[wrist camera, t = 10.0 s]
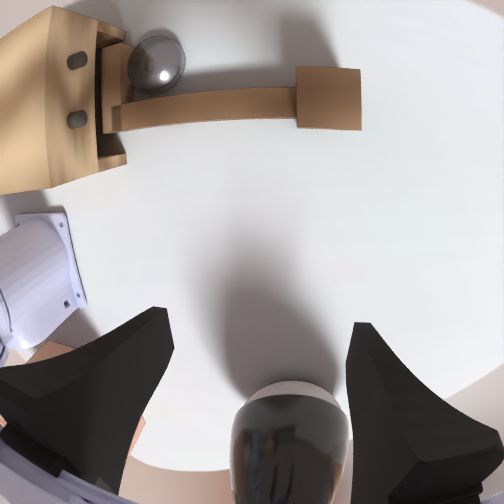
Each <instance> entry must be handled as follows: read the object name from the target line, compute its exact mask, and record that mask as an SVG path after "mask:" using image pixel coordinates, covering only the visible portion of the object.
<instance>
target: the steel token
mask: <svg viewBox="0 0 504 504" xmlns="http://www.w3.org/2000/svg"><path fill="white" fill-rule="evenodd" d="M185 62H186V59H185V53H184V51H183V49H182V47H181V46H180V45H179V44H178V43H176V42H174V41H173V40H171V39H169V38H167V37H163V36H156V37H151V38H148V39H146V40H144V41H143V42H141V43H140V44H139V45H138V46H137V47H136V48H135V49H134V50H133V52H132V53H131V55H130V58H129V60H128V65H127V73H128V77H129V80H130V81H131V83H132V84H133V85H134V86H135V87H136V88H138V89H140V90H144V91H150V92H160V91H163V90H166V89H168V88H170V87H171V86H173V85H174V84H175V83H176V82H177V81H178V80H179V78H180V77H181V75H182V73H183V71H184V68H185Z"/></svg>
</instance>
